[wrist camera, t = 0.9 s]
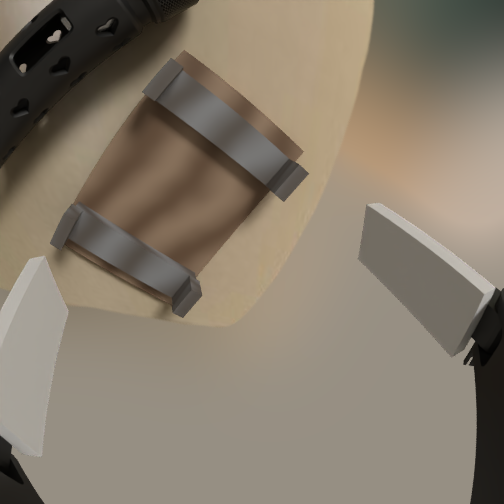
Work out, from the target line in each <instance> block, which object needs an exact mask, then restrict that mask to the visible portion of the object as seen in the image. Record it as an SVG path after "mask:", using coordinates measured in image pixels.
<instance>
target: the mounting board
mask: <svg viewBox="0 0 504 504" xmlns="http://www.w3.org/2000/svg"><path fill="white" fill-rule="evenodd" d="M142 92H143V93H144V94H145V96H144V97H143V98H142V99H141V101H140V102H139V103H138V105H137V106H136V107H135V108H134V110H133V111H132V112H131V114H130V115H129V117H128V118H127V119H126V121H125V122H124V123H123V125H122V126H121V128H120V129H119V130H118V132H117V133H116V135H115V136H114V138H113V139H112V141H111V142H110V144H109V145H108V147H107V148H106V150H105V151H104V153H103V154H102V156H101V157H100V159H99V161H98V162H97V164H96V165H95V167H94V169H93V170H92V172H91V174H90V175H89V177H88V179H87V180H86V182H85V184H84V186H83V187H82V189H81V191H80V193H79V194H78V196H77V198H76V200H75V202H74V204H71V206H70V207H69V208H68V209H67V211H66V212H65V213H64V215H63V217H62V219H61V221H60V223H59V225H58V227H57V229H56V231H55V233H54V235H53V238H52V240H51V242H50V244H51V245H53V246H54V247H56V248H58V249H59V250H61V249H62V248H63V246H64V245H66V246H68V247H69V248H71V249H72V250H74V251H76V252H77V253H79V254H81V255H82V256H84V257H86V258H87V259H89V260H91V261H92V262H94V263H96V264H97V265H99V266H101V267H102V268H104V269H106V270H108V271H109V272H111V273H113V274H115V275H116V276H118V277H120V278H122V279H123V280H125V281H127V282H129V283H131V284H132V285H134V286H136V287H138V288H140V289H142V290H144V291H145V292H147V293H149V294H151V295H153V296H155V297H157V298H159V299H161V300H162V301H164V302H166V303H168V304H170V305H172V311H173V313H174V314H176V315H178V316H180V317H182V318H183V317H184V316H185V315H186V314H187V313H188V311H189V310H190V309H191V308H192V307H193V306H194V304H195V303H196V302H197V301H198V300H199V299H200V298H201V296H202V292H201V287H200V282H199V281H198V280H197V279H196V277H197V275H198V274H199V273H200V272H201V271H202V269H203V268H204V267H205V266H206V265H207V263H208V262H209V261H210V260H211V259H212V257H213V256H214V255H215V254H216V253H217V251H218V250H219V249H220V248H221V247H222V245H223V244H224V243H225V242H226V241H227V240H228V238H229V237H230V236H231V235H232V234H233V232H234V231H235V230H236V229H237V228H238V227H239V225H240V224H241V223H242V222H243V221H244V220H245V218H246V217H247V216H248V215H249V214H250V213H251V211H252V210H253V209H254V208H255V207H256V206H257V205H258V203H259V202H260V201H261V200H262V199H263V198H264V196H265V195H266V194H267V193H268V192H269V191H270V190H271V191H272V192H273V193H274V194H275V195H276V196H277V197H279V198H280V199H281V200H282V201H283V202H284V201H285V200H286V199H287V198H288V197H289V196H290V194H291V193H292V192H293V191H294V190H295V189H296V188H297V187H298V185H299V184H300V183H301V182H302V181H303V180H304V179H305V177H306V176H307V175H308V174H309V173H308V172H307V171H306V170H305V169H304V168H303V167H301V166H300V165H299V164H298V163H296V162H295V161H296V160H297V159H298V158H299V157H300V156H301V154H302V153H303V152H304V151H303V150H302V149H301V148H300V147H299V146H297V145H296V144H295V143H294V142H293V141H292V140H291V139H290V138H289V137H288V136H287V135H286V134H285V133H284V132H283V131H282V130H281V129H280V128H278V127H277V126H276V125H275V124H274V123H273V122H272V121H271V120H270V119H269V118H267V117H266V116H265V115H264V114H263V113H262V112H261V111H260V110H258V109H257V108H256V107H255V106H254V105H253V104H252V103H250V102H249V101H248V100H247V99H246V98H245V97H243V96H242V95H241V94H240V93H239V92H237V91H236V90H235V89H234V88H233V87H231V86H230V85H229V84H228V83H227V82H225V81H224V80H223V79H222V78H220V77H219V76H218V75H217V74H215V73H214V72H213V71H211V70H210V69H209V68H208V67H206V66H205V65H204V64H202V63H201V62H200V61H198V60H197V59H196V58H194V57H193V56H192V55H190V54H189V53H188V52H186V51H185V50H184V51H183V52H182V53H181V54H180V55H179V56H178V57H177V58H176V59H175V60H173V59H172V58H170V60H169V61H168V62H167V63H166V64H165V65H164V66H163V67H162V69H161V70H160V71H159V72H158V73H157V74H156V76H155V77H154V78H153V79H152V80H151V82H150V83H149V84H148V85H147V86H146V88H145V89H144V90H143V91H142Z"/></svg>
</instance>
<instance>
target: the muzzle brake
mask: <svg viewBox="0 0 504 504" xmlns="http://www.w3.org/2000/svg"><path fill="white" fill-rule="evenodd" d="M198 1H199V0H53V1H52V2H51V3H50V4H49V5H47V6H46V7H45V8H44V9H43V10H42V11H41V12H39V13H38V14H37V15H36V16H35V17H34V18H33V19H32V20H31V21H30V22H29V23H28V24H27V25H26V26H25V27H24V28H23V29H22V30H21V31H20V32H19V33H18V34H17V35H16V36H15V37H14V38H13V39H12V40H11V41H10V42H9V43H8V44H7V45H6V46H5V48H4V49H3V50H2V51H1V52H0V168H1V166H2V165H3V164H4V162H5V161H6V160H7V158H8V157H9V156H10V155H11V153H12V152H13V151H14V149H15V148H16V147H17V146H18V144H19V143H20V142H21V141H22V140H23V138H24V137H25V136H26V135H27V134H28V133H29V131H30V130H31V129H32V128H33V127H34V126H35V125H36V124H37V122H38V121H39V120H40V119H41V118H42V117H43V116H44V115H45V114H46V113H47V112H48V111H49V110H50V109H51V108H52V107H53V106H54V105H55V104H56V103H57V102H58V101H59V100H60V99H61V98H62V97H63V96H64V95H65V94H66V93H67V92H68V91H69V90H70V89H71V88H72V87H73V86H74V85H76V84H77V83H78V82H79V81H80V80H81V79H82V78H83V77H85V76H86V75H87V74H88V73H89V72H90V71H92V70H93V69H94V68H95V67H96V66H98V65H99V64H100V63H101V62H103V61H104V60H105V59H106V58H108V57H109V56H110V55H112V54H113V53H114V52H116V51H117V50H118V49H120V48H121V47H122V46H124V45H125V44H127V43H128V42H129V41H131V40H132V39H134V38H135V37H137V36H138V35H140V33H141V32H142V28H143V26H145V25H146V24H148V23H149V22H151V21H152V22H154V23H158V22H160V21H161V22H164V21H166V20H168V19H170V18H172V17H173V16H175V15H177V14H179V13H180V12H182V11H184V10H186V9H188V8H189V7H191V6H193V5H195V4H197V3H198ZM56 30H61V34H60V38H59V41H52V42H49V41H48V40H47V38H48V37H50V36H53V33H54V32H55V31H56ZM21 64H26V65H27V67H26V72H25V73H22V72H21V71H20V69H19V67H20V65H21Z"/></svg>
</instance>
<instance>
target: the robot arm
mask: <svg viewBox="0 0 504 504" xmlns="http://www.w3.org/2000/svg"><path fill="white" fill-rule="evenodd" d="M358 259H359V261H361V262H362V263H363V264H364V265H365V266H366V267H367V268H368V269H369V270H370V271H371V272H372V273H373V274H374V275H375V276H376V277H377V278H378V279H379V280H380V281H381V282H382V283H383V284H384V285H385V286H386V287H387V288H388V289H389V290H390V291H391V292H392V293H393V294H394V296H395V297H397V299H398V300H399V301H400V302H401V303H402V304H403V305H404V306H405V307H406V308H407V309H408V310H409V311H410V312H411V313H412V314H413V315H414V317H416V319H417V320H418V321H419V322H420V323H421V324H422V325H423V326H424V327H425V328H426V329H427V331H428V332H429V333H430V334H431V335H432V336H433V337H434V338H435V339H436V341H437V342H438V343H439V344H440V345H441V346H442V347H443V348H444V350H446V352H447V353H448V354H449V355H450V356H451V357H453V356H455V355H456V354H458V353H459V352H461V351H463V350H464V349H465V347H466V345H467V344H468V342H469V340H470V338H471V337H472V338H473V339H474V340H475V343H474V345H473V346H472V348H471V350H470V351H469V353H468V355H467V356H466V358H465V359H464V365H466V364H467V362H468V361H469V359H470V358H471V357H473V359H472V360H471V362H470V364H469V365H470V366H474V372H475V385H476V406H477V438H476V440H477V441H476V458H475V471H474V480H473V488H472V496H471V502H470V504H504V288H503V289H502V291H500V290H498V289H497V288H496V287H495V286H494V285H492V284H491V283H490V282H489V281H488V280H486V279H485V278H484V277H483V276H481V275H480V274H479V273H478V272H477V271H475V270H474V269H473V268H471V267H470V266H469V265H468V264H466V263H465V262H464V261H463V260H461V259H460V258H459V257H458V256H456V255H454V254H453V253H452V252H451V251H449V250H448V249H447V248H445V247H444V246H443V245H441V244H440V243H439V242H437V241H436V240H434V239H433V238H432V237H430V236H429V235H427V234H426V233H424V232H423V231H421V230H420V229H419V228H417V227H416V226H414V225H413V224H411V223H410V222H408V221H407V220H405V219H404V218H402V217H401V216H399V215H398V214H396V213H395V212H393V211H392V210H390V209H389V208H387V207H386V206H384V205H382V204H381V203H375V204H367V205H366V211H365V219H364V226H363V232H362V239H361V245H360V251H359V257H358ZM68 312H69V311H68V309H67V307H66V305H65V303H64V300H63V298H62V296H61V294H60V292H59V289H58V287H57V285H56V282H55V280H54V278H53V275H52V273H51V270H50V268H49V265H48V263H47V260H46V257H45V256H41V257H36V258H31V259H29V261H28V262H27V264H26V266H25V267H24V269H23V271H22V272H21V274H20V276H19V277H18V279H17V281H16V283H15V284H14V286H13V288H12V290H11V292H10V294H9V295H8V297H7V300H6V301H5V303H4V305H3V307H2V309H1V311H0V504H44V502H43V501H42V499H41V498H40V497H39V495H38V494H37V492H36V490H35V489H34V487H33V486H32V484H31V483H30V481H29V479H28V478H27V476H26V474H25V473H24V471H23V469H22V468H21V466H20V464H19V462H18V461H17V459H16V458H15V457H14V455H12V454H11V449H12V446H13V447H14V448H15V449H17V450H18V451H19V452H21V453H22V454H24V455H30V456H39V457H42V450H43V439H44V430H45V422H46V414H47V407H48V400H49V394H50V389H51V383H52V378H53V373H54V368H55V364H56V359H57V354H58V350H59V346H60V342H61V338H62V334H63V330H64V327H65V323H66V320H67V316H68Z"/></svg>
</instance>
